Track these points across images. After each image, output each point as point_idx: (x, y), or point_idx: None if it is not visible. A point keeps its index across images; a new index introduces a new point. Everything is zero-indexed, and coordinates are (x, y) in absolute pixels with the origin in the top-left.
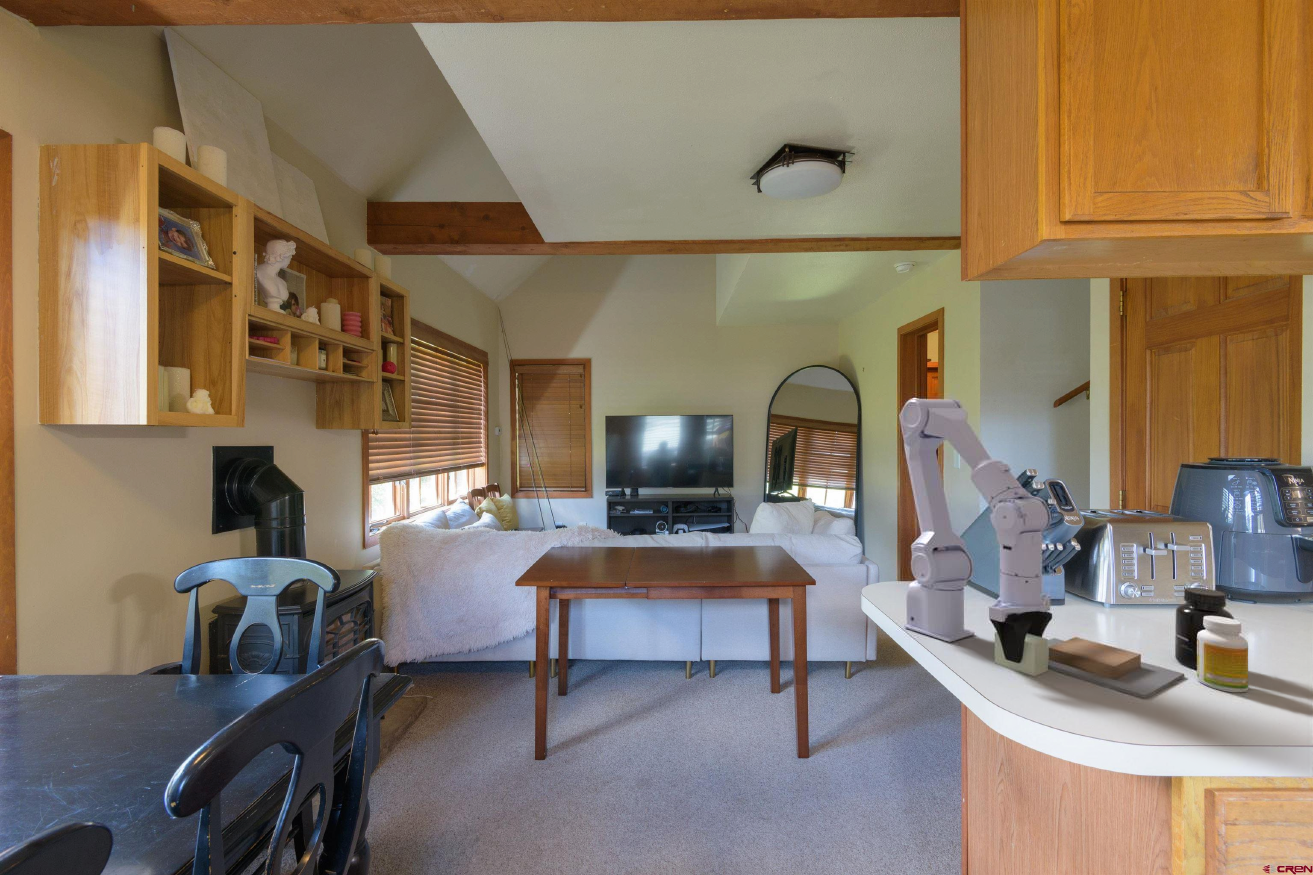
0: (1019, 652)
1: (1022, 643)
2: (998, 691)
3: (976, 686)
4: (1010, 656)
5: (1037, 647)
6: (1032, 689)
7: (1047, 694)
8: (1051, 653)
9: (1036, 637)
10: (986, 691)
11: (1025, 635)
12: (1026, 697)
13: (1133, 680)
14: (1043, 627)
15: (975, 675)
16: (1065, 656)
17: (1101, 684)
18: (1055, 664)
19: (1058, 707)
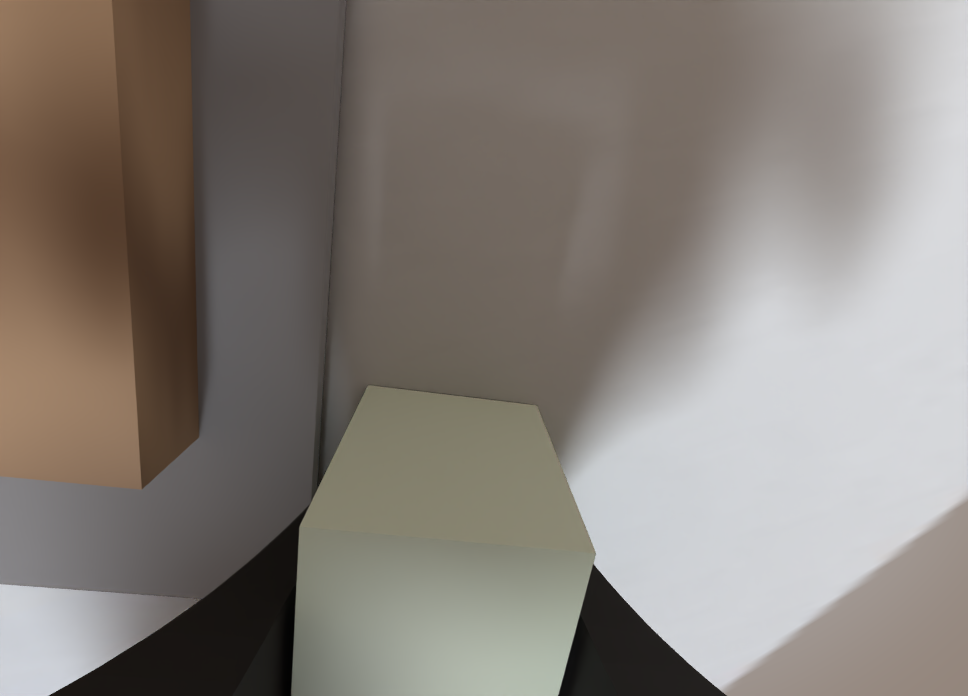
0: (595, 568)
1: (614, 619)
2: (906, 449)
3: (903, 536)
4: None
5: (525, 512)
6: (760, 344)
7: (782, 261)
8: (170, 444)
9: (351, 607)
10: (941, 485)
11: (628, 686)
12: (904, 327)
13: None
14: (179, 682)
15: (755, 592)
16: (158, 351)
17: (341, 43)
18: (259, 378)
19: (952, 153)
